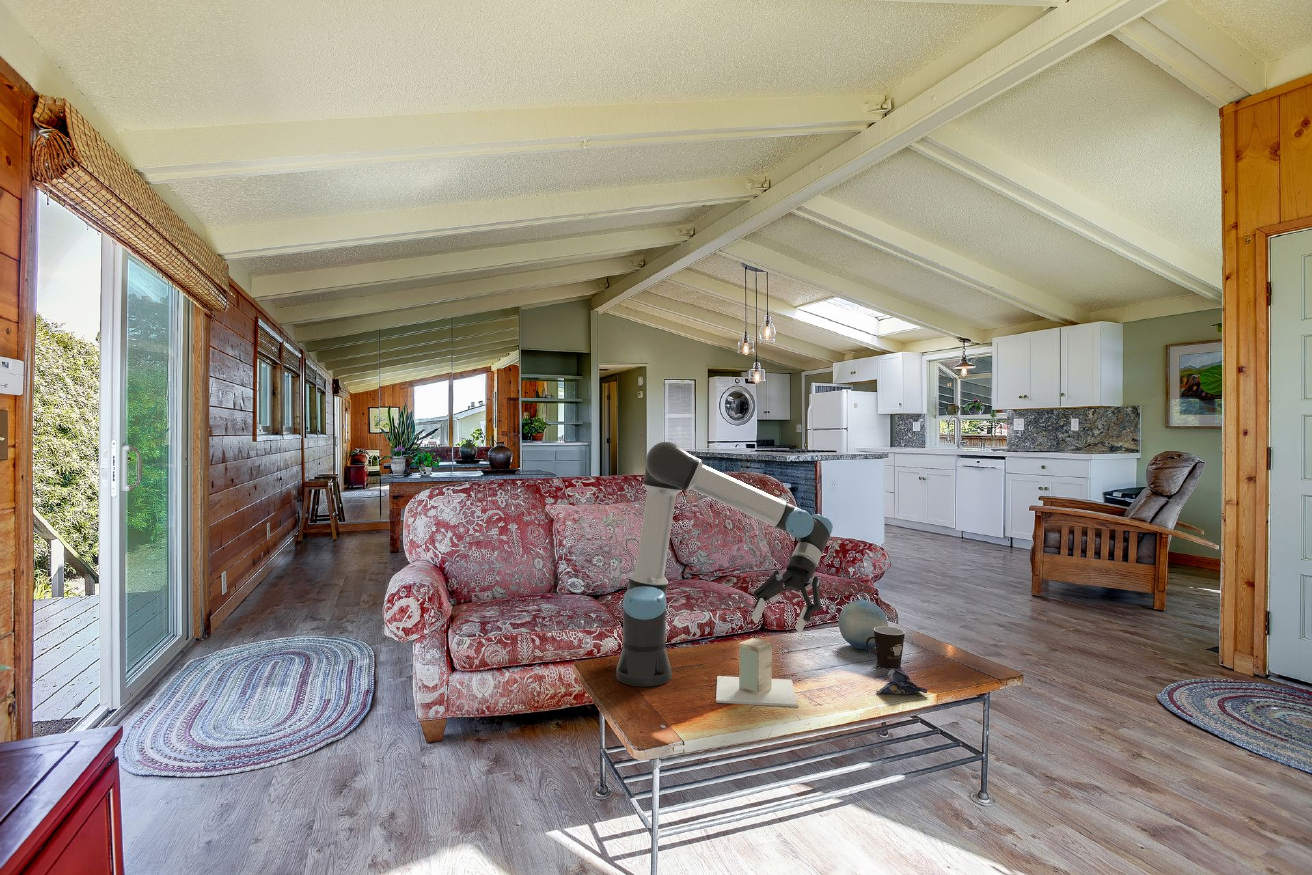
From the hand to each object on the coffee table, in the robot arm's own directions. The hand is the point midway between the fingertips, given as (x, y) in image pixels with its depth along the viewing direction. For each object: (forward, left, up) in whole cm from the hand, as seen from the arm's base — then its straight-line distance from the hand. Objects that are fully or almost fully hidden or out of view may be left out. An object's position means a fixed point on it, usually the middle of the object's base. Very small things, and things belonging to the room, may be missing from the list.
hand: (775, 625), depth 178 cm
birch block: (-6, -8, -15) cm, 17 cm away
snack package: (+32, -2, -16) cm, 36 cm away
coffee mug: (+33, +19, -15) cm, 41 cm away
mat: (-5, -8, -15) cm, 18 cm away
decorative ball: (+30, +34, -15) cm, 47 cm away
